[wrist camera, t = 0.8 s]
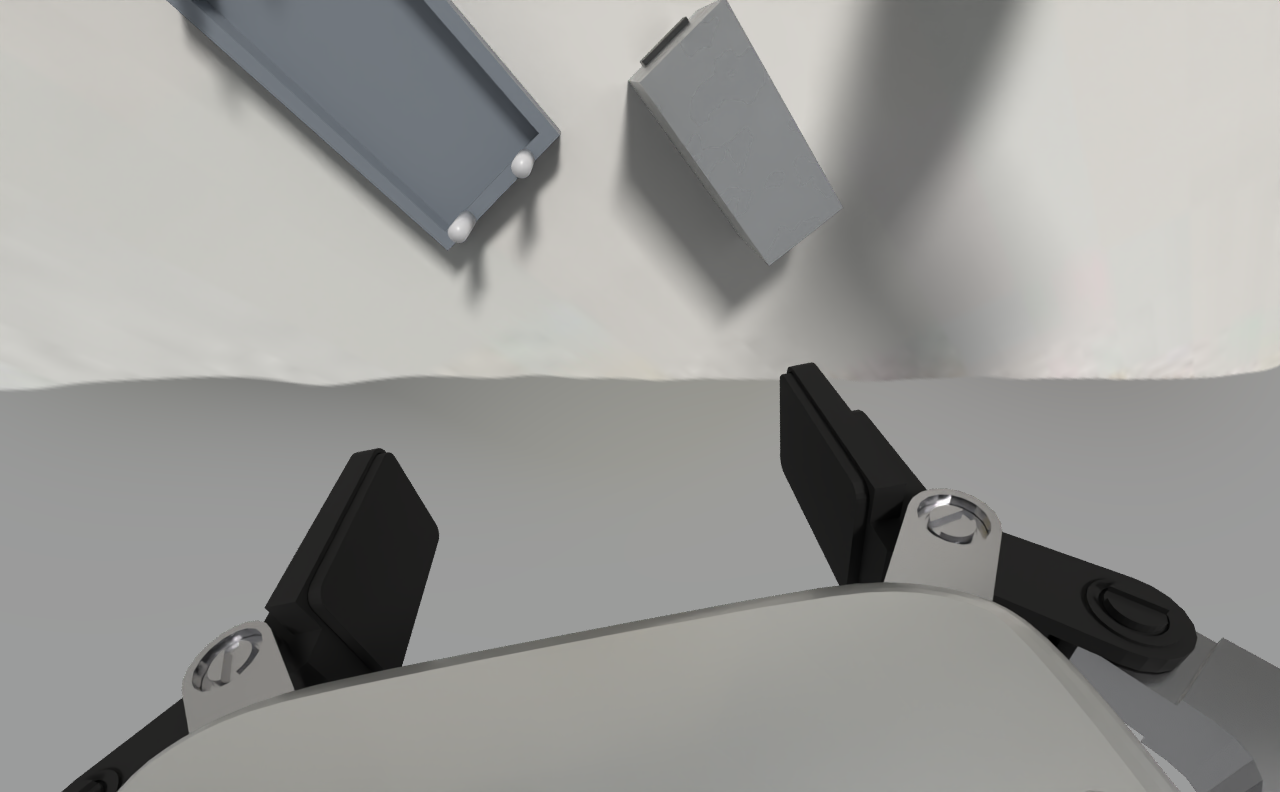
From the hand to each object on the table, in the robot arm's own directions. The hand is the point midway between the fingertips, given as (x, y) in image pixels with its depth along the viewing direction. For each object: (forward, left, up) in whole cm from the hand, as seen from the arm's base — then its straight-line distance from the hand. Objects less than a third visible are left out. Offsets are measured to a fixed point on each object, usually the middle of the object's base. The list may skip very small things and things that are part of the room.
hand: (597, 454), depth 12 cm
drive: (-9, +3, -24) cm, 26 cm away
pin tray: (+3, -12, -24) cm, 27 cm away
